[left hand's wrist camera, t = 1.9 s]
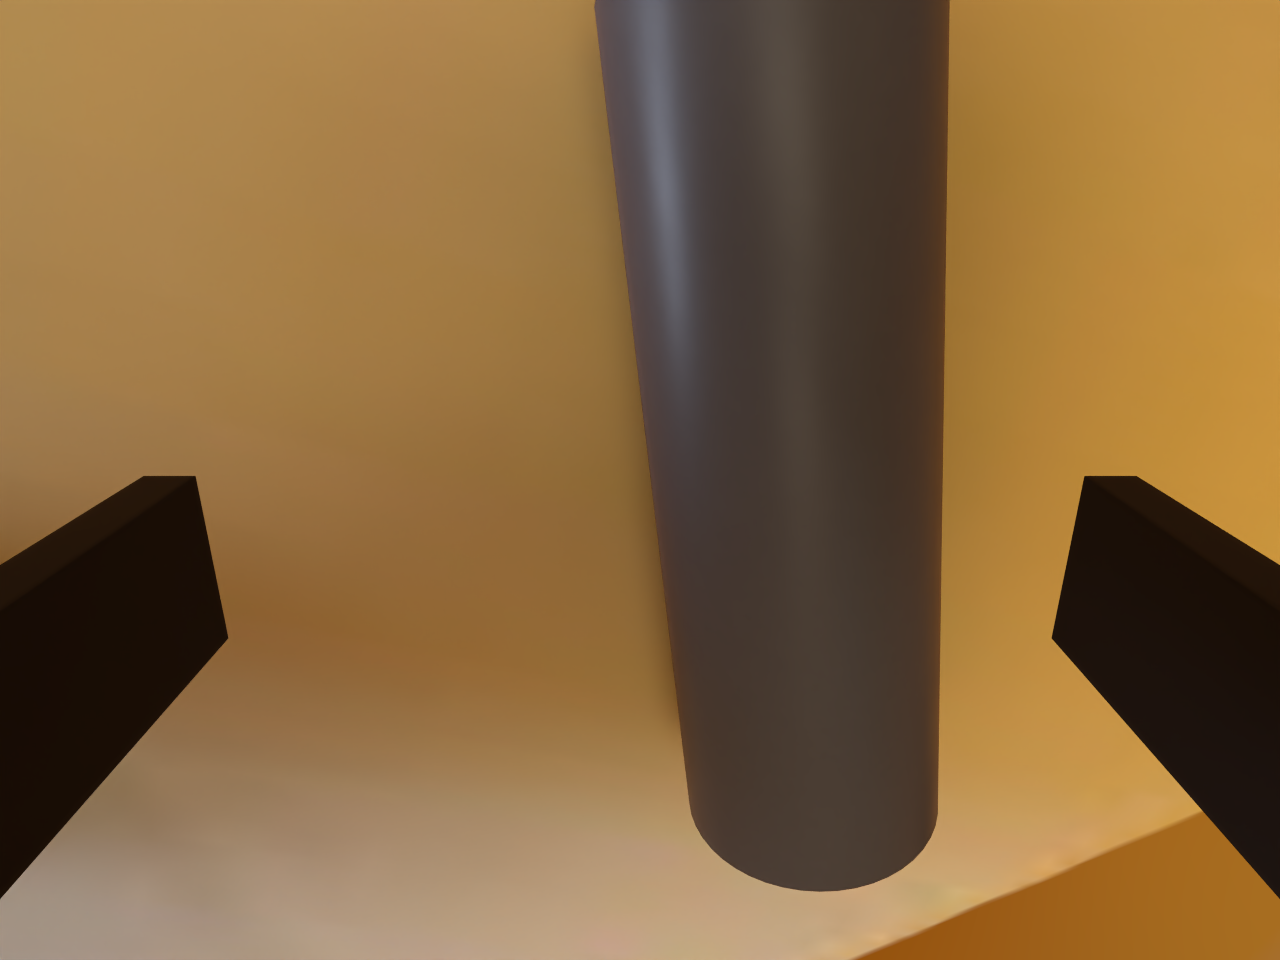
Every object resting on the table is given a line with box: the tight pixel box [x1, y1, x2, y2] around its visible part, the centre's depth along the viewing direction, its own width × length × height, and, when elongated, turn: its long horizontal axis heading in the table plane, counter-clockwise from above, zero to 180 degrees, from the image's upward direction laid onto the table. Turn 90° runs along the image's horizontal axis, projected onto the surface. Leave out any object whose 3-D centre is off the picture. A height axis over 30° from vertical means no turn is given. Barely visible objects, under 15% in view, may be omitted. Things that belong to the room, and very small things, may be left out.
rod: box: [595, 0, 949, 892], centre depth 25 cm, size 25×8×8 cm, turn 7°
